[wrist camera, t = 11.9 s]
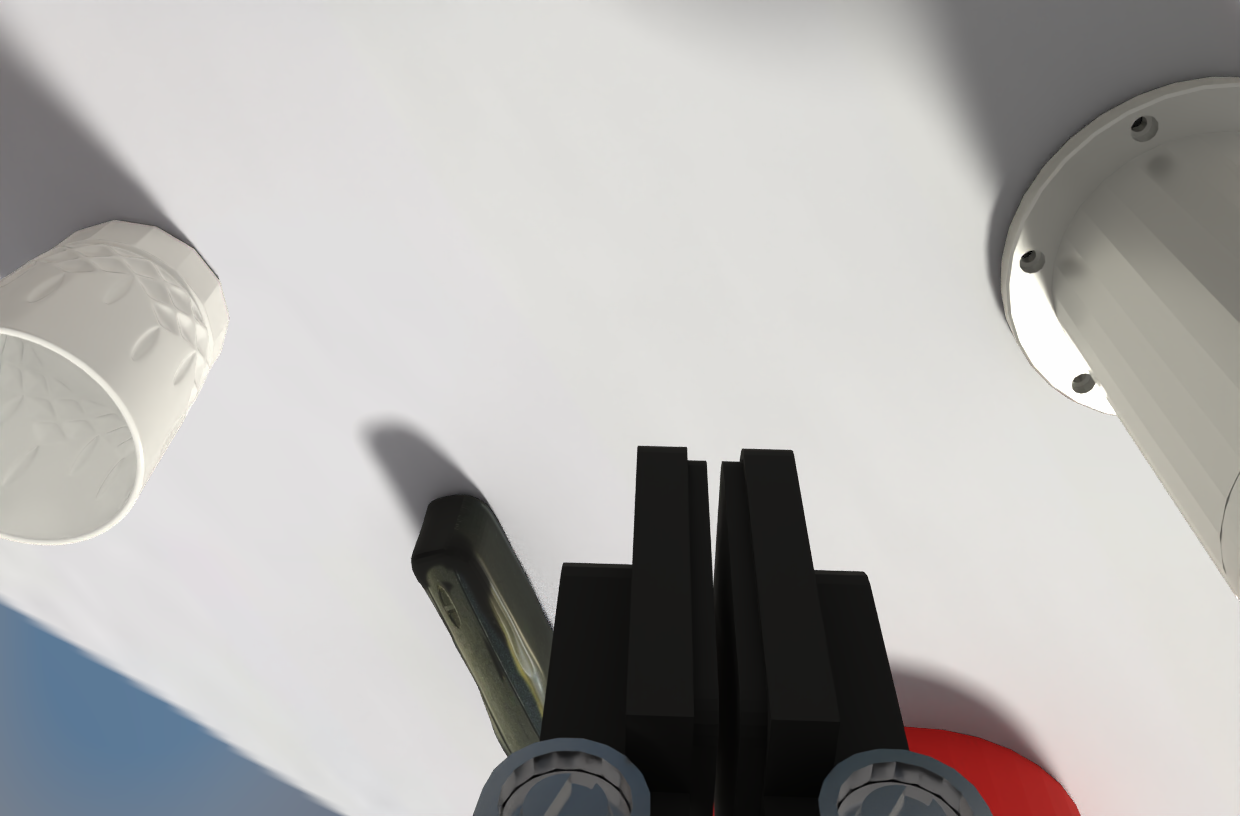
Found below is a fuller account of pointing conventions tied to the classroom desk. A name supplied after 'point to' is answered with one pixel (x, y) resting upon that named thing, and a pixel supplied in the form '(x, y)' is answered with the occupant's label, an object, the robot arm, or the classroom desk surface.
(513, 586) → the mobile phone
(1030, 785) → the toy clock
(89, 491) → the white cup
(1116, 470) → the classroom desk surface
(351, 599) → the classroom desk surface
